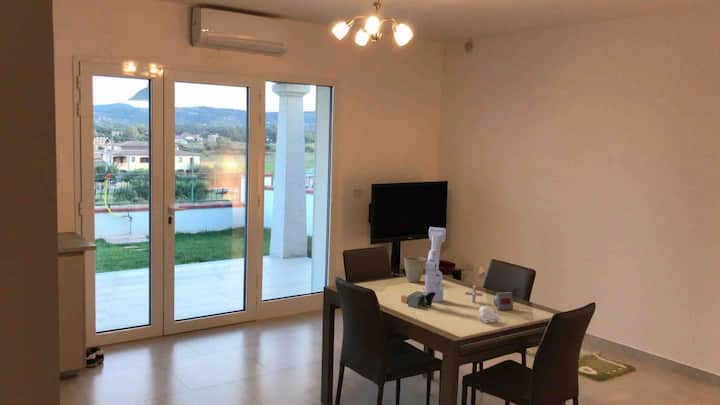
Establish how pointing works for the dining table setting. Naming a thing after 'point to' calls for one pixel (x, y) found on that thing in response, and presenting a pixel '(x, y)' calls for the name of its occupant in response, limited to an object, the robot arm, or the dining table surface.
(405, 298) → the plug
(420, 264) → the plant pot
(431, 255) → the robot arm
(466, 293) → the toy jack
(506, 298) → the voltmeter
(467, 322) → the dining table surface
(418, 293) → the housing
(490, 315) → the white lumpy piece
